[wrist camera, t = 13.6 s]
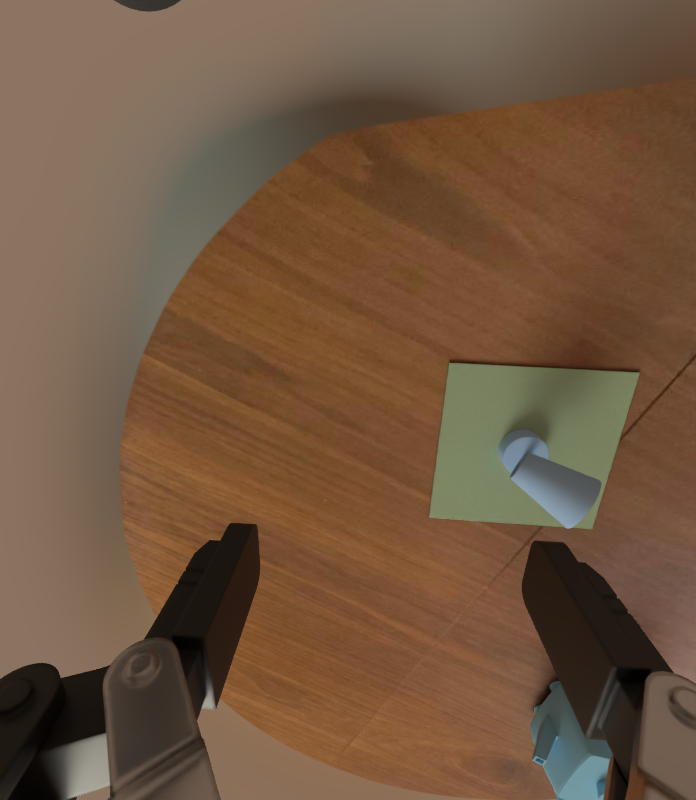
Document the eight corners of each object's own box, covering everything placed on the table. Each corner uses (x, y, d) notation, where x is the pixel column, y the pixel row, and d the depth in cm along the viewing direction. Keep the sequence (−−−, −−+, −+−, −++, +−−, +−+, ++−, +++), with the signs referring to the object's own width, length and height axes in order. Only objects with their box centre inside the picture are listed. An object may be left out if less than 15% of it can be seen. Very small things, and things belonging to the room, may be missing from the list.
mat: (448, 362, 37) (449, 362, 37) (638, 372, 36) (640, 372, 36) (428, 516, 43) (429, 517, 43) (591, 528, 42) (592, 529, 42)
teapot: (580, 751, 55) (623, 853, 45) (487, 728, 54) (512, 826, 45) (644, 668, 49) (710, 765, 39) (541, 642, 48) (582, 734, 39)
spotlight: (566, 445, 39) (508, 417, 38) (628, 502, 30) (552, 466, 29) (538, 482, 41) (482, 456, 40) (588, 547, 31) (515, 515, 31)
